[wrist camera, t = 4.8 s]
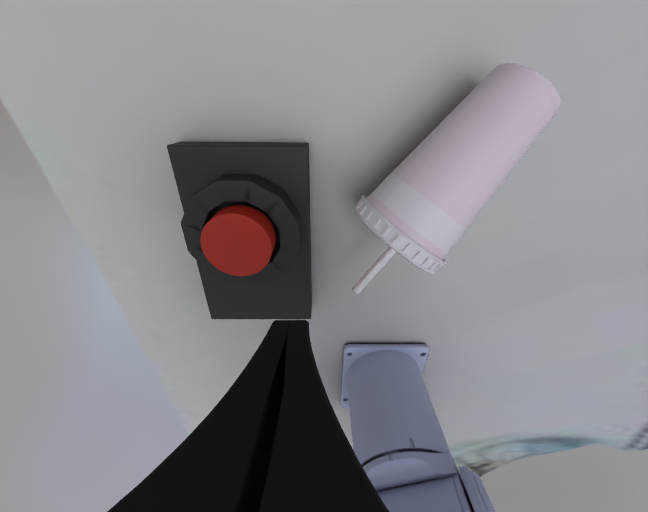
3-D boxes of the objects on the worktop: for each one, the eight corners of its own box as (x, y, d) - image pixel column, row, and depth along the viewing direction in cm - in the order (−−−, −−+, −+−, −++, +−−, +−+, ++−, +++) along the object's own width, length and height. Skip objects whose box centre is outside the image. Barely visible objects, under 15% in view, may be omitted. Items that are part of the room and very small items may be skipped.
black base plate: (311, 305, 23) (310, 335, 20) (218, 304, 23) (203, 335, 20) (308, 142, 17) (306, 150, 14) (180, 141, 17) (149, 149, 14)
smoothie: (495, 118, 18) (360, 272, 22) (449, 40, 14) (299, 245, 18) (603, 145, 13) (403, 334, 17) (578, 37, 9) (331, 315, 14)
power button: (278, 263, 17) (274, 276, 16) (216, 263, 17) (207, 276, 16) (273, 204, 16) (268, 213, 14) (203, 204, 15) (192, 213, 14)
